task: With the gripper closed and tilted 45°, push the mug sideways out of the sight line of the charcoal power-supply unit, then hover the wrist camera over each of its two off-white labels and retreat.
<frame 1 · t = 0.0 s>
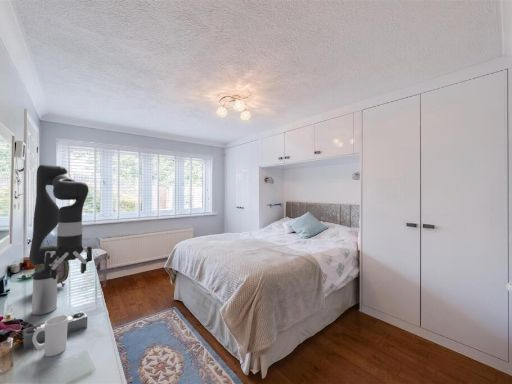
hand: (68, 275, 89), 29 cm above the table, tool pointing down, fingers open, 8 cm apart
tabletop clock: (50, 289, 142), on the table
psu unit: (56, 334, 99), on the table
mug: (50, 353, 88), on the table
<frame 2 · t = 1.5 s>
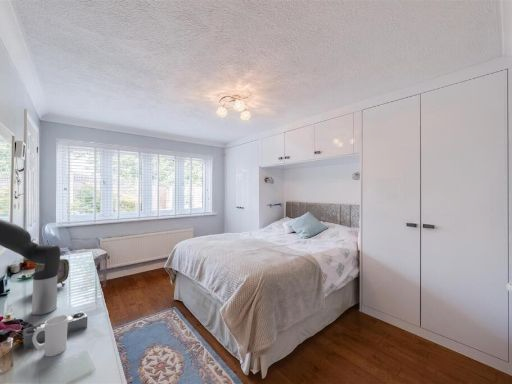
nothing on the table moved.
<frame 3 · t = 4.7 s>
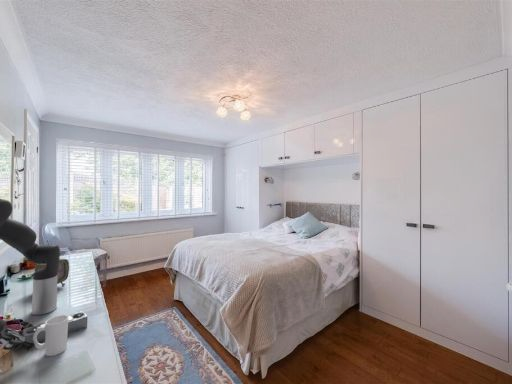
hand: (31, 346, 84), 5 cm above the table, tool tilted 45°, fingers closed
mug: (50, 352, 88), on the table, touching gripper
everything else where it was.
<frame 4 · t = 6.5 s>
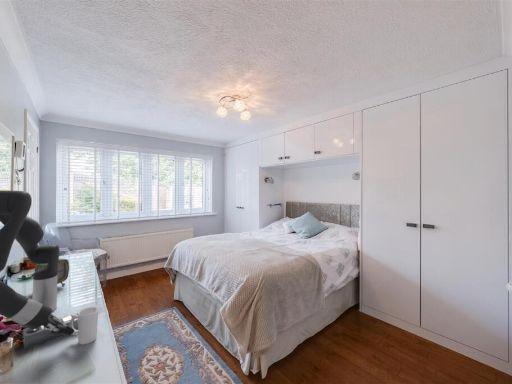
hand: (72, 332, 93), 5 cm above the table, tool tilted 45°, fingers closed
mug: (83, 340, 96), on the table, touching gripper
everything else where it was.
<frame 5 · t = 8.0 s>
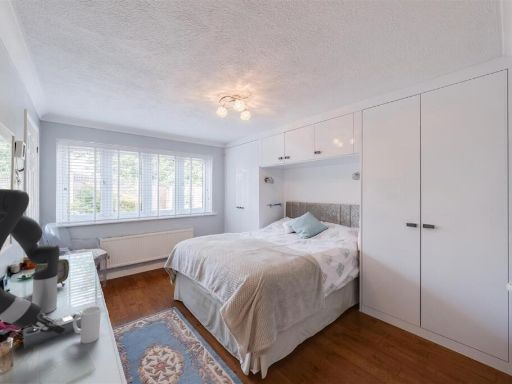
hand: (62, 330, 91), 7 cm above the table, tool tilted 45°, fingers closed
mug: (85, 339, 97), on the table
everything else where it was.
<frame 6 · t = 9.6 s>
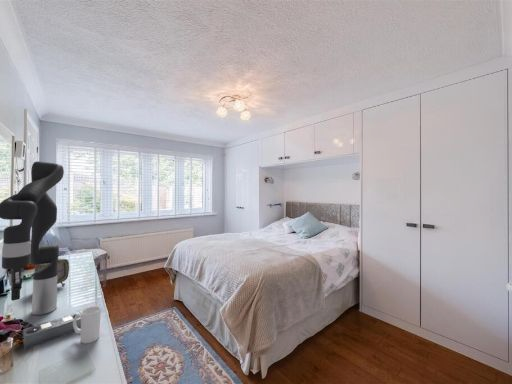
hand: (15, 299, 87), 20 cm above the table, tool pointing down, fingers closed
nothing on the table moved.
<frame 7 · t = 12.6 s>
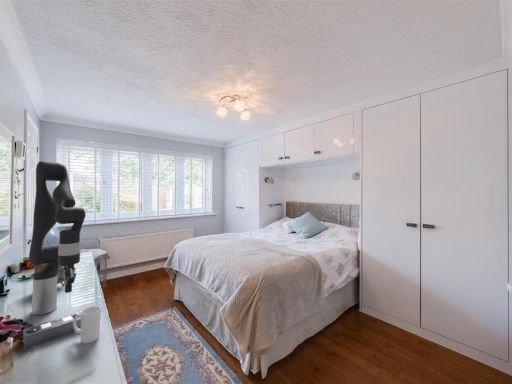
hand: (68, 291, 102), 17 cm above the table, tool pointing down, fingers closed
nothing on the table moved.
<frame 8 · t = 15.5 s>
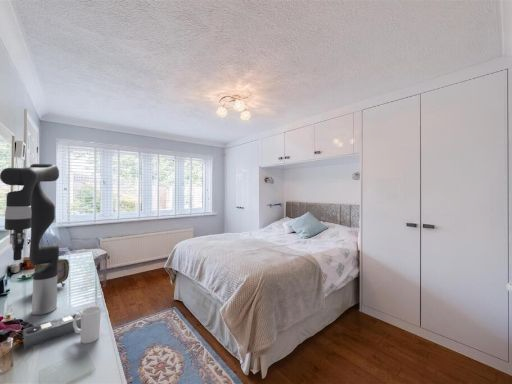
hand: (17, 259, 94), 33 cm above the table, tool pointing down, fingers closed
nothing on the table moved.
at the end: mug moved 11.3 cm from its start; mug inside the target area (2.1 cm from its centre), on the table; mug tilted 0° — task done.
